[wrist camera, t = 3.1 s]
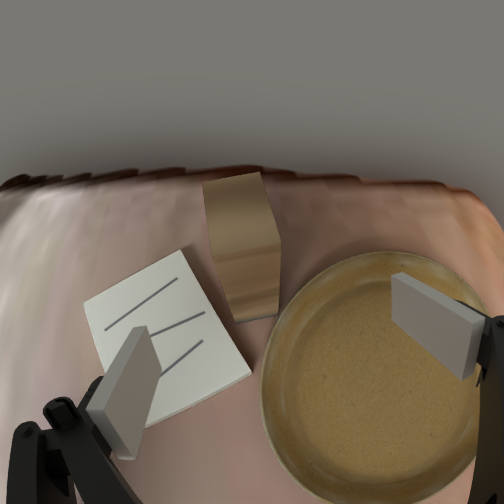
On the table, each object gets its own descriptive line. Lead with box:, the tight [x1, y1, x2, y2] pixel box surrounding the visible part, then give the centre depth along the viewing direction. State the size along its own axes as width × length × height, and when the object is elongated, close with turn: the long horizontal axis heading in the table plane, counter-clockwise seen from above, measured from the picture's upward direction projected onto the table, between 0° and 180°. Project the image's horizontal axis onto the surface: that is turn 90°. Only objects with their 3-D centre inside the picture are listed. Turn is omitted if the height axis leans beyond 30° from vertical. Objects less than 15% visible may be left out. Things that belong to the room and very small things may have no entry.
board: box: [83, 250, 252, 429], centre depth 25 cm, size 14×12×2 cm
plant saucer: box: [259, 251, 492, 504], centre depth 21 cm, size 24×24×3 cm
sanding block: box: [202, 172, 282, 324], centre depth 23 cm, size 6×4×12 cm, turn 11°
